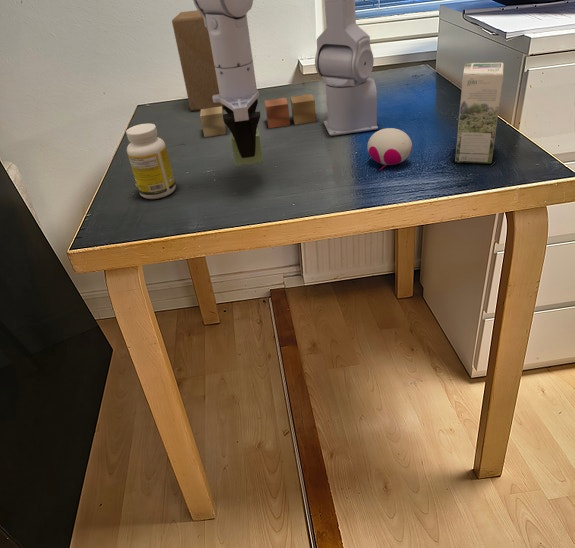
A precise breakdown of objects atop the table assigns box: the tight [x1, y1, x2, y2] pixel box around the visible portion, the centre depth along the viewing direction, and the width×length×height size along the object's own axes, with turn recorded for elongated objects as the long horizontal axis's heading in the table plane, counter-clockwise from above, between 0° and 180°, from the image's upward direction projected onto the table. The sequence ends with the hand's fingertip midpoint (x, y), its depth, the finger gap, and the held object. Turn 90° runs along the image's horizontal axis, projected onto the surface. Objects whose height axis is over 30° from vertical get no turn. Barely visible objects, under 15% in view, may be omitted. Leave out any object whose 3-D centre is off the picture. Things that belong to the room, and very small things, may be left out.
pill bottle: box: [125, 123, 177, 200], centre depth 85 cm, size 6×6×11 cm
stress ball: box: [366, 127, 413, 171], centre depth 86 cm, size 8×8×7 cm
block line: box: [199, 93, 317, 138], centre depth 108 cm, size 24×4×4 cm, turn 96°
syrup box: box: [454, 62, 505, 165], centre depth 82 cm, size 6×6×14 cm
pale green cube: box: [230, 125, 264, 167], centre depth 84 cm, size 4×4×4 cm
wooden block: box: [171, 9, 224, 112], centre depth 121 cm, size 10×10×20 cm
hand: (247, 150), depth 84 cm, fingers closed on pale green cube, 4 cm apart
